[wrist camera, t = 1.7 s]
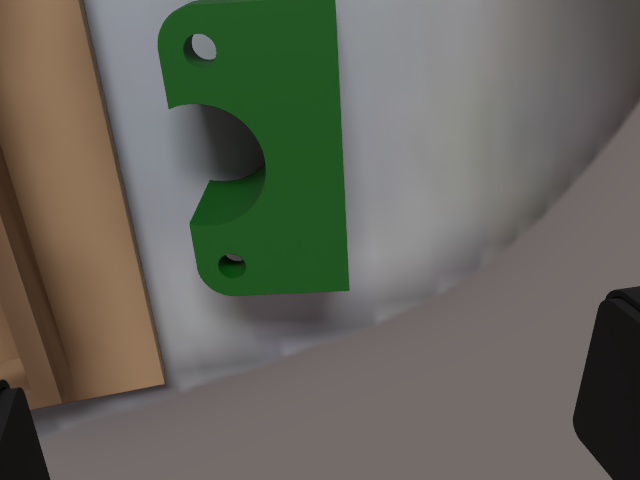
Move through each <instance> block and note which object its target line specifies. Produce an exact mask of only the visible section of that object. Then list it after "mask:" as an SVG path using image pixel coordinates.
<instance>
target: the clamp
mask: <svg viewBox="0 0 640 480" xmlns="http://www.w3.org/2000/svg"><path fill="white" fill-rule="evenodd" d="M194 34H204V35H206V36H208V37H209V38H210V39H211V40H212V41H213V42H214V44H215V46H216V51H217V54H216V58H215V59H212V60H206V59H203V58H201V57H199V56H198V55H197V54H196V53H195V52H194V50H193V47H192V37H193V35H194ZM158 52H159V58H160V63H161V69H162V74H163V80H164V85H165V91H166V96H167V102H168V108H169V109H171V108H173V107H176V106H180V105H186V104H204V105H210V106H214V107H217V108H220V109H222V110H225V111H227V112H229V113H231V114H232V115H234V116H235V117H237V118H238V119H239V120H241V121H242V122H243V123H244V124H245V125H246V126H247V127H248V128H249V129H250V130H251V131H252V133H253V134H254V135H255V137H256V138H257V140H258V142H259V144H260V146H261V149H262V151H263V155H264V158H265V164H264V165H263V166H262V167H261V168H260V169H258V170H257V171H256V172H254V173H253V174H251V175H249V176H247V177H245V178H242V179H239V180H234V181H214V180H210V181H209V183H208V185H207V187H206V189H205V192H204V194H203V196H202V198H201V200H200V202H199V204H198V207H197V209H196V211H195V213H194V215H193V217H192V219H191V221H190V230H191V235H192V241H193V247H194V252H195V258H196V263H197V269H198V272H199V275H200V277H201V278H202V280H203V281H204V282H205V284H206V285H208V286H209V287H210V288H211V289H213V290H214V291H216V292H218V293H221V294H224V295H229V296H243V295H265V294H287V293H309V292H330V291H349V274H348V253H347V233H346V212H345V191H344V171H343V150H342V129H341V109H340V88H339V67H338V47H337V26H336V6H335V0H198V1H193V2H191V3H188V4H186V5H184V6H183V7H181V8H179V9H177V10H176V11H174V12H173V13H172V14H170V15H169V16H168V17H167V18H166V20H165V21H164V23H163V25H162V27H161V29H160V32H159V36H158ZM227 254H235V255H238V256H240V257H241V258H242V259H243V260H242V261H233V260H231V259H229V258H228V257H227V256H226V255H227Z"/></svg>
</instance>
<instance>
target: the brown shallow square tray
mask: <svg viewBox="0 0 640 480" xmlns="http://www.w3.org/2000/svg"><path fill="white" fill-rule="evenodd" d="M1 379H4V380H6V381H7V382H8V383H9V385H10V388H17V387H21V388H22V389H23V390H24V392H25V395H26V398H27V402H28V405H29V409H30V410H33V409H38V408H44V407H49V406H54V405H59V404H64V403H69V402H74V401H79V400H85V399H90V398H95V397H100V396H105V395H110V394H115V393H121V392H126V391H131V390H136V389H141V388H146V387H151V386H156V385H162V384H165V375H164V365H163V360H162V356H161V351H160V347H159V342H158V338H157V333H156V329H155V324H154V320H153V315H152V311H151V306H150V302H149V297H148V293H147V288H146V284H145V279H144V275H143V270H142V266H141V261H140V257H139V252H138V248H137V243H136V239H135V234H134V230H133V225H132V221H131V216H130V212H129V207H128V202H127V198H126V193H125V189H124V184H123V180H122V175H121V171H120V166H119V162H118V157H117V153H116V148H115V144H114V139H113V135H112V130H111V126H110V121H109V117H108V112H107V108H106V103H105V99H104V94H103V90H102V85H101V81H100V76H99V72H98V67H97V63H96V58H95V54H94V49H93V45H92V40H91V36H90V31H89V27H88V22H87V18H86V13H85V9H84V4H83V0H0V380H1Z"/></svg>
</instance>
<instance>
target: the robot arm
mask: <svg viewBox="0 0 640 480" xmlns="http://www.w3.org/2000/svg"><path fill="white" fill-rule="evenodd" d="M573 426H574V429H575V432H576V434H577V436H578V438H579V439H580V441H581V442H582V443H583V444H584V445H585V447H586V448H587V449H588V450H589V451H590V453H591V454H592V455H593V456H594V457H595V459H596V460H597V461H598V462H599V463H600V465H601V466H602V467H603V468H604V469H605V470H606V472H607V473H608V474H609V475H610V477H611V478H612V479H613V480H640V286H639V287H632V288H625V289H618V290H613V291H611V292H610V293H609V294H608V295H607V296H606V299H605V300H604V301H602V302H601V303H600V305H599V308H598V312H597V316H596V320H595V325H594V329H593V333H592V338H591V342H590V347H589V351H588V355H587V359H586V364H585V368H584V372H583V377H582V381H581V385H580V390H579V394H578V398H577V403H576V407H575V411H574V415H573ZM0 480H50V477H49V473H48V470H47V467H46V463H45V460H44V456H43V453H42V450H41V446H40V443H39V439H38V436H37V432H36V429H35V426H34V422H33V419H32V415H31V412H30V409H29V405H28V402H27V398H26V395H25V392H24V390H23V389H22V388H21V387H17V388H10V385H9V383H8V382H7V381H6V380H4V379H1V380H0Z"/></svg>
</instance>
